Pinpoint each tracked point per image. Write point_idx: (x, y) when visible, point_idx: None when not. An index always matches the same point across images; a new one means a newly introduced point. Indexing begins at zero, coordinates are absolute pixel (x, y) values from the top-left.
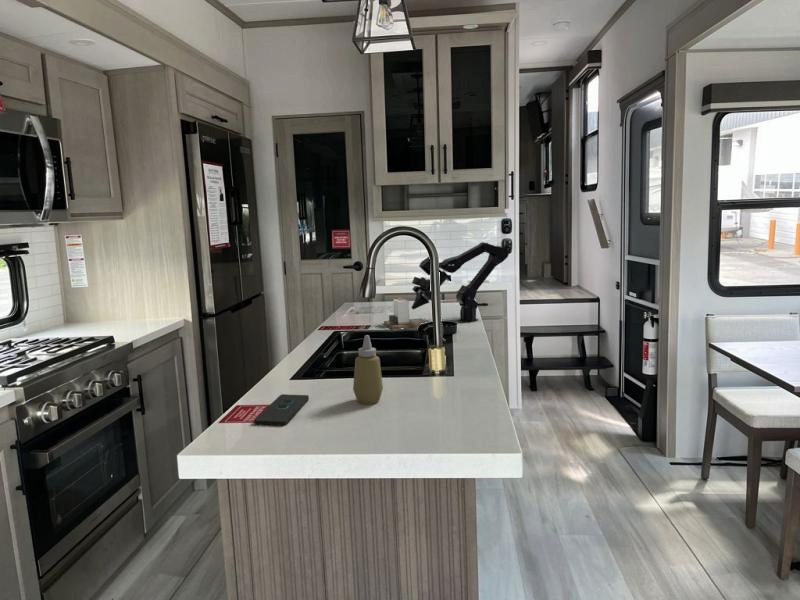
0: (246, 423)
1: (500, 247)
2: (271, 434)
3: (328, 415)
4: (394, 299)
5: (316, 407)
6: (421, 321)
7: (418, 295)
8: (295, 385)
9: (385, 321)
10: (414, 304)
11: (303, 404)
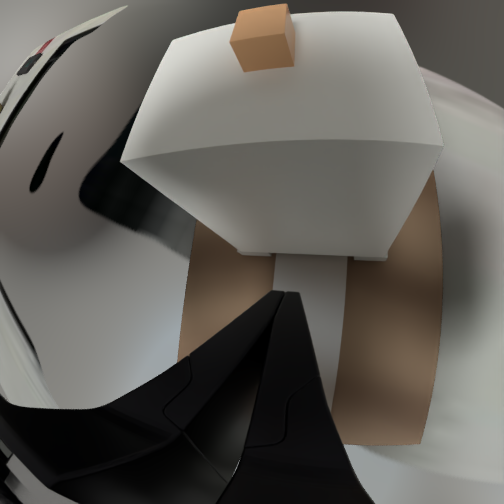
0: None
1: None
2: None
3: (7, 94)
4: (382, 19)
5: (17, 82)
6: None
7: (110, 452)
8: (51, 51)
9: None
10: (230, 322)
11: (23, 73)
